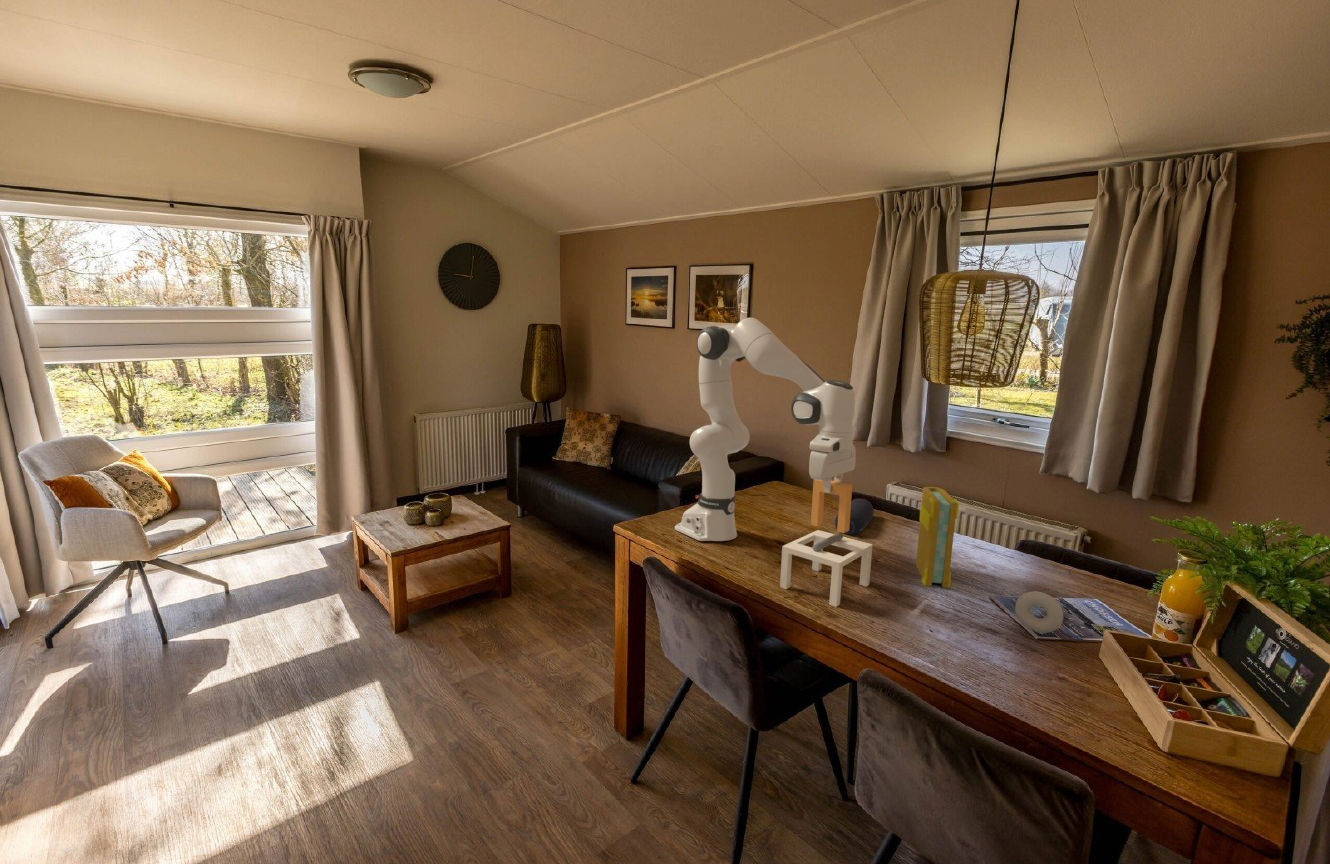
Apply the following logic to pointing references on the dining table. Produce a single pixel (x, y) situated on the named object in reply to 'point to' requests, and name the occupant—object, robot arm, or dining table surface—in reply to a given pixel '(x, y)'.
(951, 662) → the dining table surface
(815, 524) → the orange arch
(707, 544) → the dining table surface
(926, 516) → the book
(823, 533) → the white miniature table
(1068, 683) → the dining table surface
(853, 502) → the portable speaker
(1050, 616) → the donut
